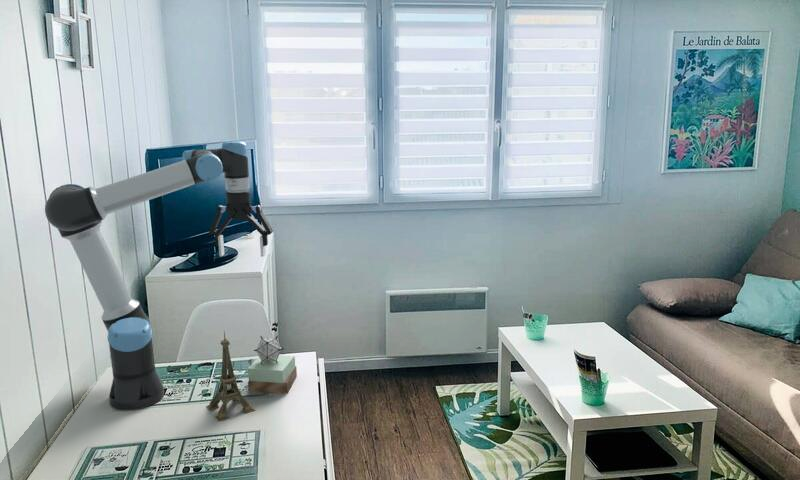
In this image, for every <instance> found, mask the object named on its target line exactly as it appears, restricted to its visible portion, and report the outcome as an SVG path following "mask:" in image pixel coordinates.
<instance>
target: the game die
mask: <svg viewBox="0 0 800 480" xmlns="http://www.w3.org/2000/svg"><path fill="white" fill-rule="evenodd" d="M259 337H260V339H261V340H260V342H259V343H258V346H257V348H256V349H254V350H253V351H254V352H256V353H257V355H258V357H260V359H261V362H260V363H262V362H266V361H276V363H278V361H277V359H278V357H279V355H281V352H282V350H283V351H284V350H285V348H284V347H281V345H280V341H279V340H278V338H279V335H275V337H263V336H262V335H260V336H259Z"/></svg>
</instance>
